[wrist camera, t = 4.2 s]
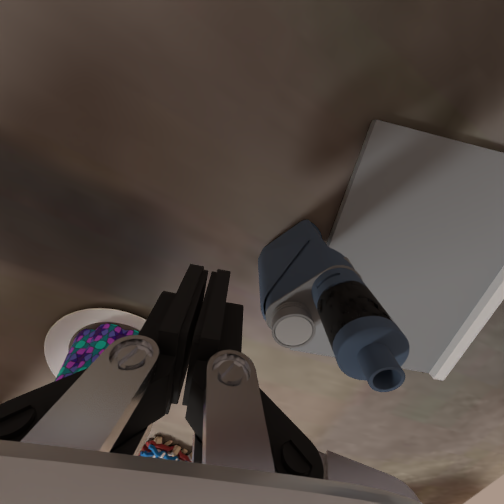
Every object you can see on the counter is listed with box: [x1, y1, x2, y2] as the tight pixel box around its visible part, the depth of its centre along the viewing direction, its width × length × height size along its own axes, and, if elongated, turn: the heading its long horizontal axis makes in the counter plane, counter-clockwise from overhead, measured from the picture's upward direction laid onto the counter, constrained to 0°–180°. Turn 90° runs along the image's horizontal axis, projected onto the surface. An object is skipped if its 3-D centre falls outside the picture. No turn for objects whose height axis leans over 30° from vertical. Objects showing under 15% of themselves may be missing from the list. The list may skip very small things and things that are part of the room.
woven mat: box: [138, 436, 192, 462], centre depth 30 cm, size 10×11×2 cm
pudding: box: [44, 308, 146, 382], centre depth 21 cm, size 12×12×5 cm
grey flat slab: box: [290, 119, 504, 380], centre depth 19 cm, size 18×14×1 cm
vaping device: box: [258, 220, 410, 392], centre depth 13 cm, size 3×5×12 cm, turn 128°
